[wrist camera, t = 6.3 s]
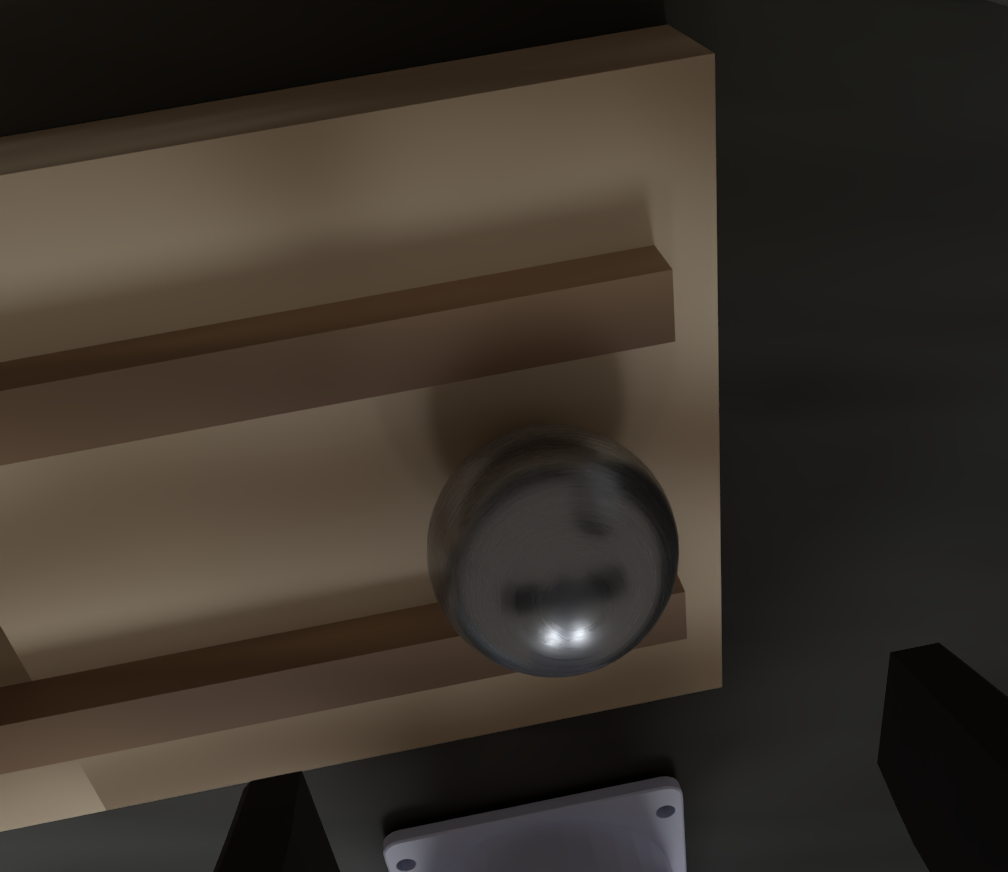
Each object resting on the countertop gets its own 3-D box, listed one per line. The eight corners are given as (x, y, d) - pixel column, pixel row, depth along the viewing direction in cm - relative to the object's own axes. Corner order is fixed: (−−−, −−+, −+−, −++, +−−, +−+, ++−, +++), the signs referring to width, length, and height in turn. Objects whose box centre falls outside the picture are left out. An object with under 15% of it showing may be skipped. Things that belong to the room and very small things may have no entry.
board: (689, 610, 23) (737, 723, 20) (-262, 797, 22) (-354, 944, 19) (667, 23, 16) (738, 68, 13) (-743, 263, 15) (-1005, 368, 12)
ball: (651, 583, 18) (727, 698, 14) (441, 627, 18) (460, 754, 14) (627, 378, 17) (701, 441, 13) (401, 420, 17) (410, 498, 13)
